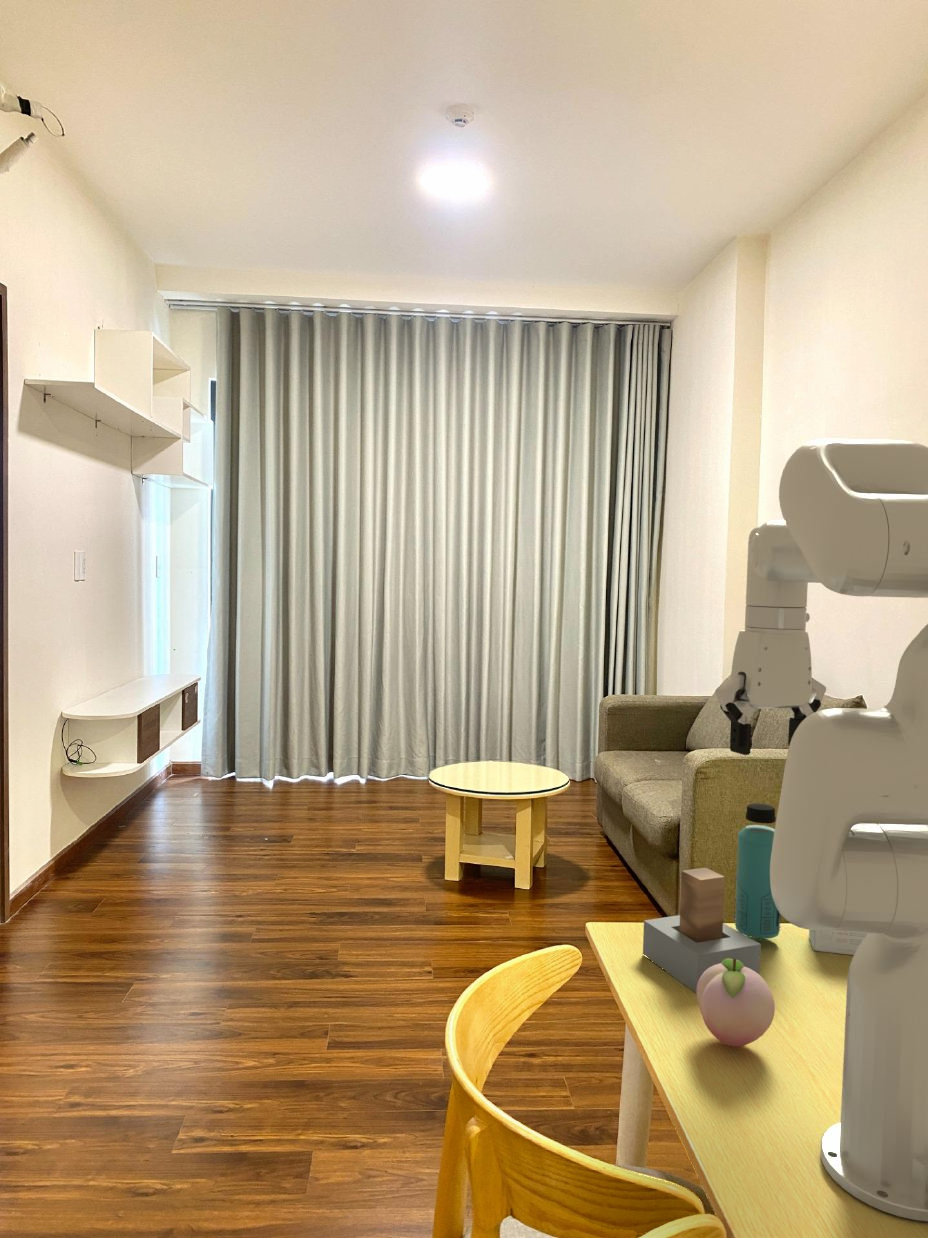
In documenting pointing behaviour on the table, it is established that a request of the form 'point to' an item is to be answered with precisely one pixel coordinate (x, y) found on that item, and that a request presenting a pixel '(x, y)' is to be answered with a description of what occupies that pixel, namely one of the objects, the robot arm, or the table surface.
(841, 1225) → the table surface
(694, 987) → the socket block
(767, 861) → the beverage bottle
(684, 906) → the walnut peg
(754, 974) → the decorative fruit
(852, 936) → the small box
